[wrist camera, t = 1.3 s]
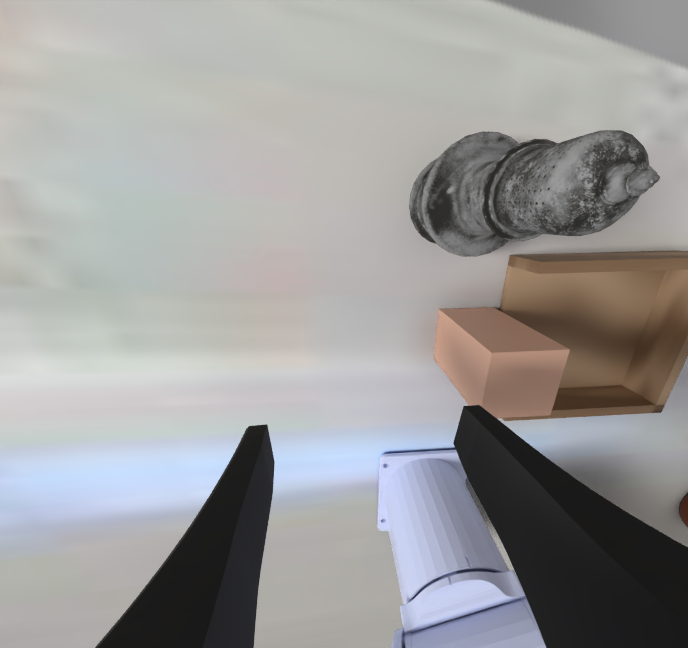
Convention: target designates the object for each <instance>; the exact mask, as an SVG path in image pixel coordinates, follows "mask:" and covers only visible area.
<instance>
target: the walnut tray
mask: <svg viewBox="0 0 688 648" xmlns="http://www.w3.org/2000/svg"><path fill="white" fill-rule="evenodd" d="M500 311H501V312H503V313H505V314H506V315H508V316H510V317H512V318H514V319H516V320H517V321H519V322H521V323H523V324H525V325H526V326H528V327H530V328H532V329H534V330H535V331H537V332H539V333H541V334H543V335H545V336H546V337H548V338H550V339H552V340H554V341H555V342H557V343H559V344H561V345H563V346H564V347H566V348H568V349H570V351H569V354H568V358H567V361H566V365H565V368H564V371H563V375H562V378H561V381H560V385H559V388H558V392H557V395H556V398H555V402H554V405H553V408H552V412H551V415H546V416H528V417H509V418H503V420H504V421H512V420H531V419H549V418H567V417H586V416H604V415H622V414H641V413H659V412H662V410H663V408H664V405H665V403H666V401H667V399H668V397H669V395H670V393H671V390H672V388H673V386H674V384H675V382H676V380H677V378H678V375H679V373H680V371H681V369H682V367H683V365H684V363H685V360H686V358H687V356H688V252H684V251H648V252H611V253H573V254H536V255H510V258H509V263H508V268H507V274H506V279H505V284H504V290H503V295H502V300H501V306H500Z"/></svg>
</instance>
